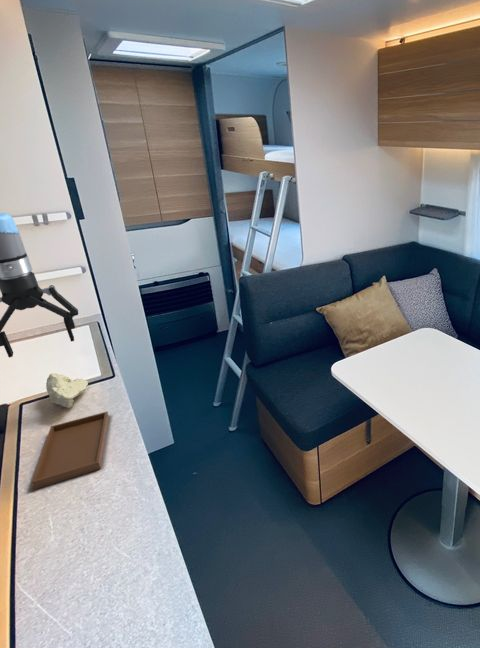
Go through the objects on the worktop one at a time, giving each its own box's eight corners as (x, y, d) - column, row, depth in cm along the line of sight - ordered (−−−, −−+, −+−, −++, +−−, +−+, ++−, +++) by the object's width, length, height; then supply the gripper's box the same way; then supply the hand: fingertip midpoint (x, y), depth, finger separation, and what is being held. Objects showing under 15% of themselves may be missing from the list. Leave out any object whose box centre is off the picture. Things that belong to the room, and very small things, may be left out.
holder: (34, 489, 94) (31, 482, 93) (53, 432, 112) (51, 426, 111) (100, 468, 100) (98, 462, 99) (109, 417, 117) (107, 411, 116)
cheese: (64, 393, 131) (17, 390, 117) (78, 373, 133) (33, 368, 118) (95, 418, 127) (50, 418, 113) (109, 397, 128) (66, 395, 114)
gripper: (-56, 291, 95) (-19, 368, 103) (73, 268, 108) (96, 338, 116) (-49, 281, 100) (-16, 356, 109) (73, 261, 114) (95, 328, 122)
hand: (42, 347), depth 113 cm, fingers open, 13 cm apart
